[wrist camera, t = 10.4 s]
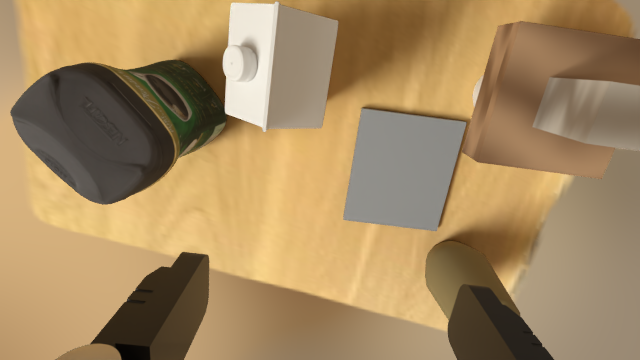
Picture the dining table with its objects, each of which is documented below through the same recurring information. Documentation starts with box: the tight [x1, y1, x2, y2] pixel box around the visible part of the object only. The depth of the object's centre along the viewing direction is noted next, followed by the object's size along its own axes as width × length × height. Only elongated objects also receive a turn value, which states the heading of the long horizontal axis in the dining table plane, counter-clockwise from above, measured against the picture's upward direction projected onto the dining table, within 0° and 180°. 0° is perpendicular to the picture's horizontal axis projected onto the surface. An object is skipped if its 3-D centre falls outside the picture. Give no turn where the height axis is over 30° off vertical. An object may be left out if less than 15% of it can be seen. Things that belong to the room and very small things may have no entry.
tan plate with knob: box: [462, 21, 640, 179], centre depth 26 cm, size 11×11×10 cm
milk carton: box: [223, 1, 338, 132], centre depth 28 cm, size 7×7×19 cm
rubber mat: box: [343, 108, 467, 231], centre depth 40 cm, size 14×12×1 cm
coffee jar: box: [11, 60, 227, 204], centre depth 30 cm, size 10×8×19 cm
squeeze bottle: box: [425, 241, 520, 320], centre depth 36 cm, size 8×8×18 cm
